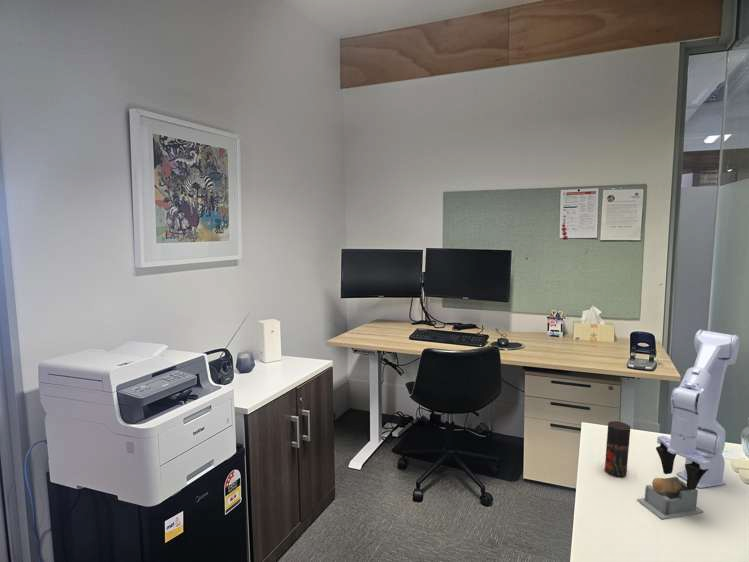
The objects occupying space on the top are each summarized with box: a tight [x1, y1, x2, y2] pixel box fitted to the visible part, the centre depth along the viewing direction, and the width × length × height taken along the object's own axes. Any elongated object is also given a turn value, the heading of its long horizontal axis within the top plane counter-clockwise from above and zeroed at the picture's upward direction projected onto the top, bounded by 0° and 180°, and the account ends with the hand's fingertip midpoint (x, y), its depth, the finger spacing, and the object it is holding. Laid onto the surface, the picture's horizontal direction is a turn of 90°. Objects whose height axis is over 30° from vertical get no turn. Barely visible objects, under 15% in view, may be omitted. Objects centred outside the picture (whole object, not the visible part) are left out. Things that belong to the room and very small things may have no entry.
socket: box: [636, 476, 704, 520], centre depth 129 cm, size 13×8×6 cm, turn 103°
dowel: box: [651, 477, 682, 494], centre depth 128 cm, size 4×4×6 cm
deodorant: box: [604, 420, 631, 479], centre depth 145 cm, size 6×6×15 cm
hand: (679, 480), depth 129 cm, fingers open, 7 cm apart
